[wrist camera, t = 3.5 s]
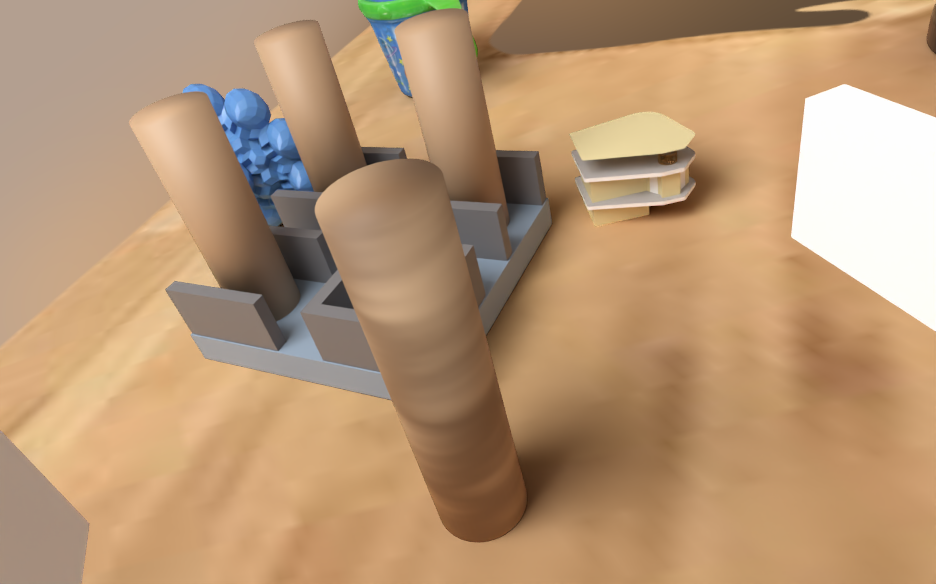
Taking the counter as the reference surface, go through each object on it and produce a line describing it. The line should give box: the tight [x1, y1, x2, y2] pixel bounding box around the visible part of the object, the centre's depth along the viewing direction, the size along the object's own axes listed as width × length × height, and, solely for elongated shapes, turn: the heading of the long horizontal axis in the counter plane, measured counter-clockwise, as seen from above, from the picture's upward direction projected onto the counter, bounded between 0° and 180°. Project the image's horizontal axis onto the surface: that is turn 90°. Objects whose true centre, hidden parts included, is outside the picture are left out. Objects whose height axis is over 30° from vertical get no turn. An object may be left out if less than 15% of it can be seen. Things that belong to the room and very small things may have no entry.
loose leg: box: [315, 159, 527, 542], centre depth 25 cm, size 4×4×16 cm
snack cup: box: [358, 0, 478, 97], centre depth 67 cm, size 16×11×10 cm
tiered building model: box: [569, 112, 695, 227], centre depth 44 cm, size 10×9×6 cm
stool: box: [129, 8, 552, 400], centre depth 39 cm, size 17×17×15 cm
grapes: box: [183, 84, 314, 226], centre depth 49 cm, size 12×7×12 cm, turn 81°
